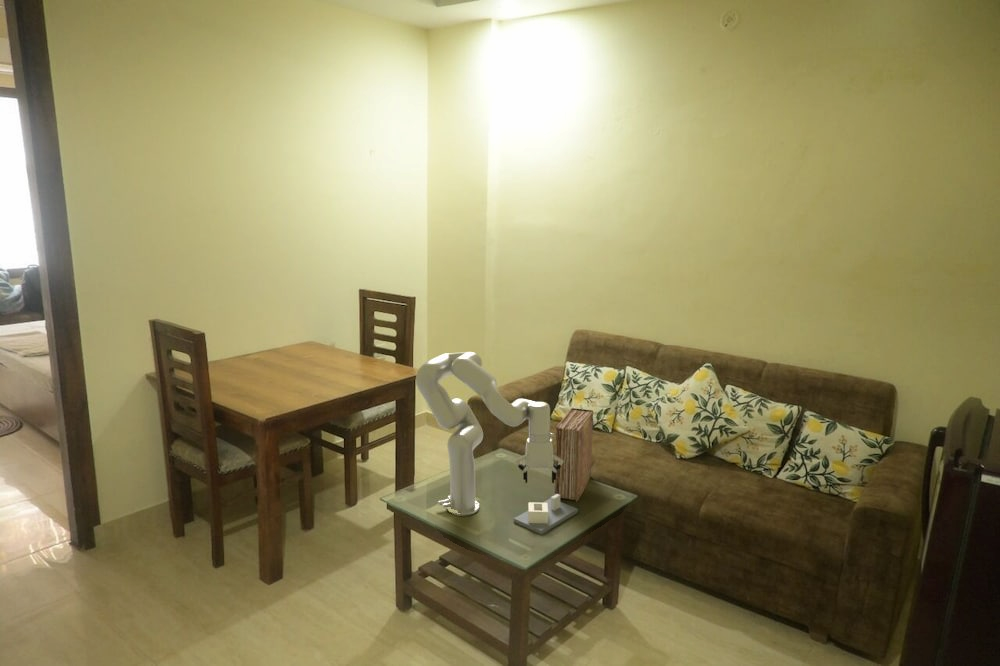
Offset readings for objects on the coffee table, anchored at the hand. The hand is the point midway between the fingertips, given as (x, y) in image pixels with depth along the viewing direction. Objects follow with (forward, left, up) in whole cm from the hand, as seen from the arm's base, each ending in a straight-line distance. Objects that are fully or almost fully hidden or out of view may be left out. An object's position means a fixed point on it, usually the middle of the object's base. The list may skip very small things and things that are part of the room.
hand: (539, 481), depth 223 cm
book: (+24, +23, -16) cm, 37 cm away
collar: (0, 0, -15) cm, 15 cm away
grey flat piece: (+4, +3, -16) cm, 17 cm away
